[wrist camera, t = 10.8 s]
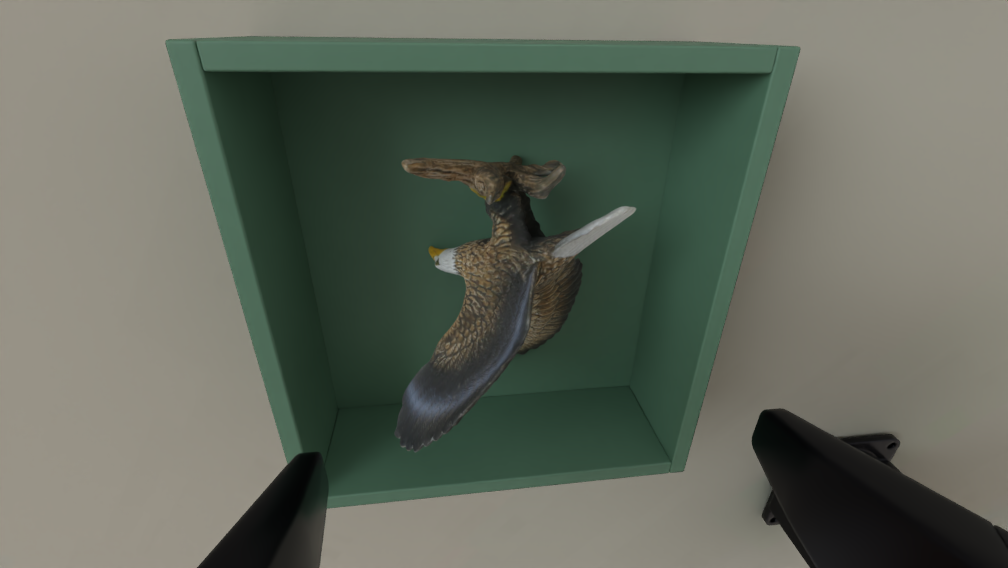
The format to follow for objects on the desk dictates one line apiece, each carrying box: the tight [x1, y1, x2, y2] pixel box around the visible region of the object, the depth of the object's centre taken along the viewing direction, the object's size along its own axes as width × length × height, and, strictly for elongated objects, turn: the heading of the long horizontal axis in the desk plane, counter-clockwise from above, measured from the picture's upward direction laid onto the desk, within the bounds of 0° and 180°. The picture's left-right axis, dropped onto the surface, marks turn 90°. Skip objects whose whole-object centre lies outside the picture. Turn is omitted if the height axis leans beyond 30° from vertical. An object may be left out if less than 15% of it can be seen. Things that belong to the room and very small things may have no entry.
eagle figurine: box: [394, 155, 636, 453], centre depth 15 cm, size 8×7×9 cm
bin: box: [166, 36, 800, 508], centre depth 16 cm, size 14×15×5 cm
